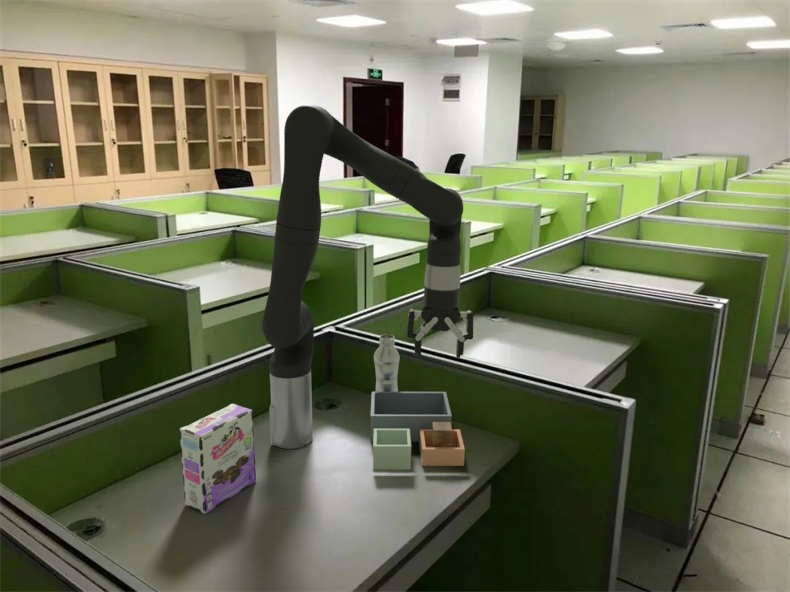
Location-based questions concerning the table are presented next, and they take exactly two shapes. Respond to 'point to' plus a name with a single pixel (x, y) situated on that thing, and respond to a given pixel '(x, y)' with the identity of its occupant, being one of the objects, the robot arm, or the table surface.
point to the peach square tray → (441, 450)
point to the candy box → (217, 457)
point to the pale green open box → (391, 449)
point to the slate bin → (408, 411)
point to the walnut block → (441, 434)
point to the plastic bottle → (386, 365)
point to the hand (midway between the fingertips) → (438, 356)
